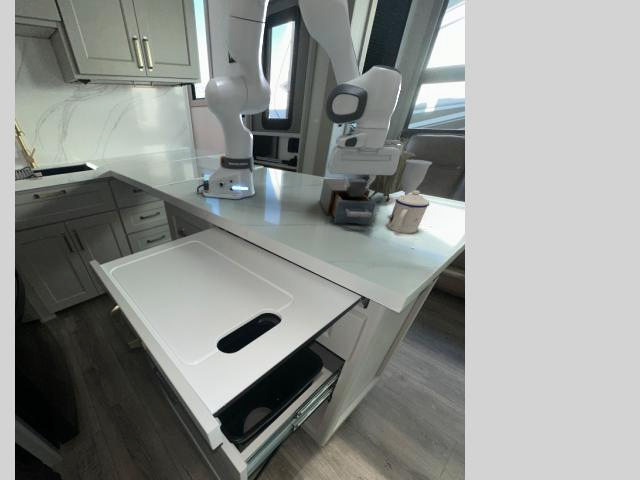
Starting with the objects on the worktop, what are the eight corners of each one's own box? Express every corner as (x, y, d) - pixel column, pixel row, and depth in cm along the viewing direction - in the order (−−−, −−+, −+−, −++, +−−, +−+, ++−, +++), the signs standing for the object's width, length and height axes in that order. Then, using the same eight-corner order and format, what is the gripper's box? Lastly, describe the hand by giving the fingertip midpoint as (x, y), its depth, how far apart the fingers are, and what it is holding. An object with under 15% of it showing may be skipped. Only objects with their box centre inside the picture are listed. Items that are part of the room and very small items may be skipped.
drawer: (374, 229, 83) (381, 207, 79) (337, 227, 84) (343, 206, 80) (357, 208, 99) (362, 189, 94) (326, 207, 99) (330, 188, 95)
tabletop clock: (383, 195, 115) (406, 126, 100) (403, 200, 109) (430, 129, 94) (362, 200, 109) (382, 128, 94) (381, 206, 103) (406, 130, 88)
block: (349, 196, 85) (353, 181, 82) (346, 192, 88) (349, 178, 86) (363, 196, 85) (367, 182, 82) (359, 192, 88) (363, 178, 86)
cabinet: (362, 216, 95) (369, 191, 90) (326, 214, 95) (332, 190, 90) (350, 202, 107) (356, 179, 102) (319, 201, 108) (323, 178, 102)
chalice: (404, 215, 96) (426, 160, 85) (412, 222, 90) (436, 164, 79) (383, 214, 96) (402, 159, 85) (389, 221, 91) (411, 163, 80)
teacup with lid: (391, 220, 92) (405, 185, 84) (420, 227, 87) (437, 190, 80) (379, 231, 85) (392, 193, 77) (409, 239, 80) (426, 200, 73)
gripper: (401, 138, 79) (385, 187, 88) (331, 137, 80) (322, 185, 89) (410, 141, 74) (392, 192, 83) (336, 140, 75) (326, 191, 84)
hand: (355, 189), depth 86 cm, fingers closed on block, 4 cm apart
